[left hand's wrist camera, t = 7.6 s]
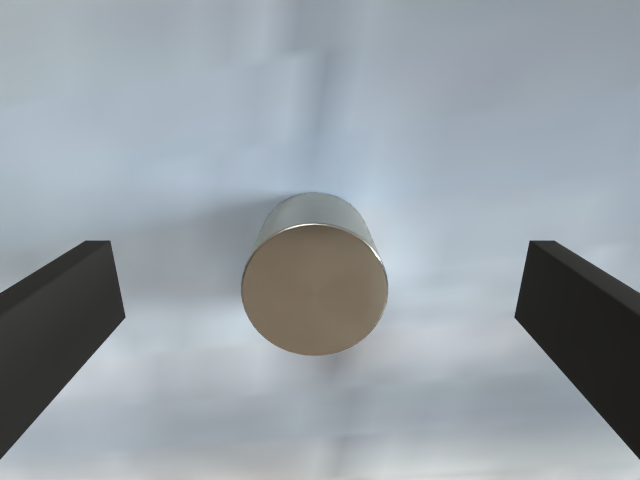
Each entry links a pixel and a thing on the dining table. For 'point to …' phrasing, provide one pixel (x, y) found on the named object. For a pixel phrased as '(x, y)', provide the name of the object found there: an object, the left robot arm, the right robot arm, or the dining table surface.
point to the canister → (314, 277)
